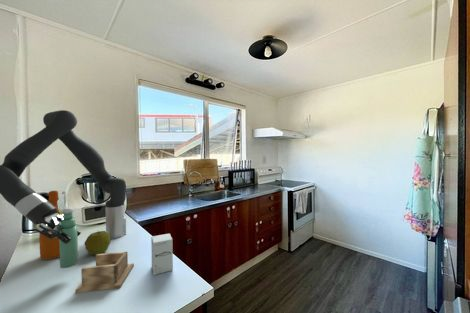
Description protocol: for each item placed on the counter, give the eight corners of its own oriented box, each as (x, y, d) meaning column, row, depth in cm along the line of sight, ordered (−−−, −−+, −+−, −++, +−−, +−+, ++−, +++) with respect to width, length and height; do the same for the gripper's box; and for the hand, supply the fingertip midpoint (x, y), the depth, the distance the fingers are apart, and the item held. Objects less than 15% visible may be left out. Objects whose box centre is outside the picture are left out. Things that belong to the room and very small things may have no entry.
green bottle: (75, 259, 79) (73, 206, 78) (80, 263, 76) (79, 207, 75) (57, 265, 74) (56, 209, 74) (62, 269, 71) (61, 211, 71)
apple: (107, 246, 102) (107, 224, 102) (112, 252, 95) (112, 229, 95) (83, 253, 95) (83, 230, 94) (87, 260, 88) (86, 235, 88)
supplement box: (153, 276, 76) (152, 242, 76) (151, 266, 82) (151, 236, 82) (173, 270, 79) (172, 238, 79) (170, 261, 86) (169, 232, 86)
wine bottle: (51, 261, 87) (50, 193, 87) (33, 259, 89) (32, 192, 89) (73, 251, 97) (72, 189, 97) (57, 249, 99) (56, 188, 98)
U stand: (133, 265, 83) (133, 249, 83) (120, 287, 69) (120, 267, 69) (96, 269, 81) (96, 252, 81) (75, 292, 67) (74, 272, 67)
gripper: (28, 205, 66) (69, 238, 69) (58, 196, 81) (92, 224, 83) (9, 222, 66) (52, 255, 68) (43, 210, 80) (78, 237, 82)
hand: (74, 238), depth 75 cm, fingers closed on green bottle, 5 cm apart
